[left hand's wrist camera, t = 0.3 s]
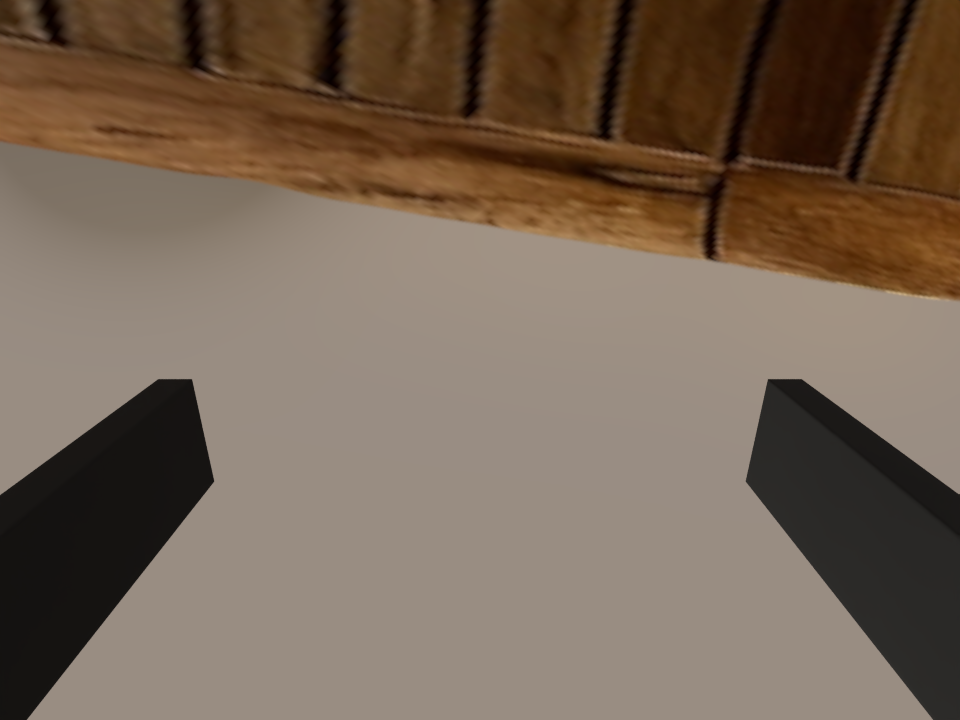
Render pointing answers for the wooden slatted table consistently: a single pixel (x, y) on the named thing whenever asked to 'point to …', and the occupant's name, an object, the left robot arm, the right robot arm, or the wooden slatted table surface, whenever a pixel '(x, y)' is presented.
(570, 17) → the wooden slatted table surface
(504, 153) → the wooden slatted table surface
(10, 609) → the left robot arm
